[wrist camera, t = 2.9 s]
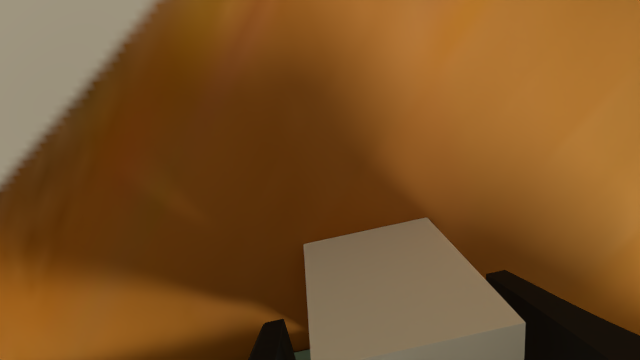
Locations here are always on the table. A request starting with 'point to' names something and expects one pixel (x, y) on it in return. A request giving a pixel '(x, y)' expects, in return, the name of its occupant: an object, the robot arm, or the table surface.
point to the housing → (404, 299)
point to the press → (303, 355)
